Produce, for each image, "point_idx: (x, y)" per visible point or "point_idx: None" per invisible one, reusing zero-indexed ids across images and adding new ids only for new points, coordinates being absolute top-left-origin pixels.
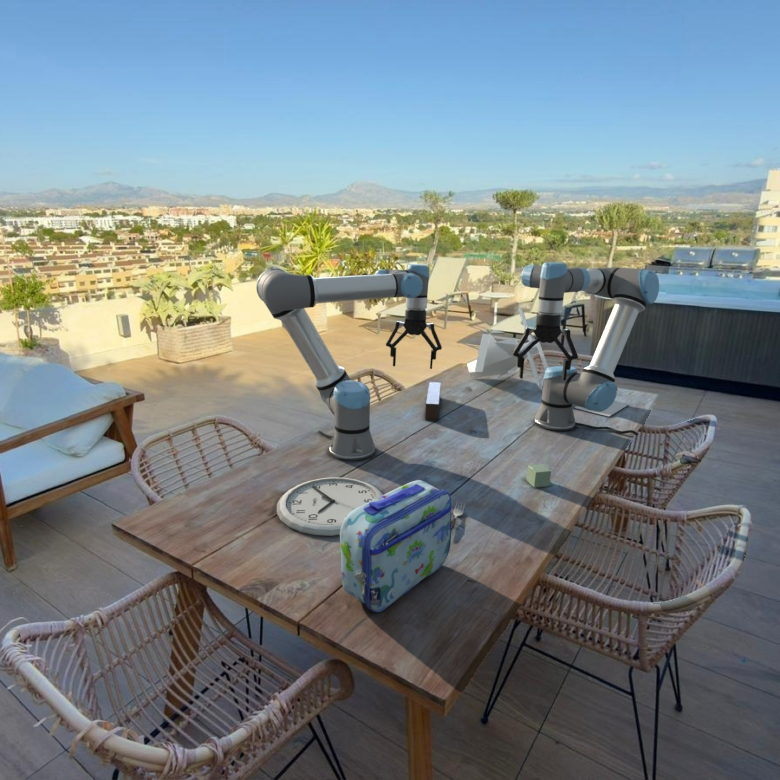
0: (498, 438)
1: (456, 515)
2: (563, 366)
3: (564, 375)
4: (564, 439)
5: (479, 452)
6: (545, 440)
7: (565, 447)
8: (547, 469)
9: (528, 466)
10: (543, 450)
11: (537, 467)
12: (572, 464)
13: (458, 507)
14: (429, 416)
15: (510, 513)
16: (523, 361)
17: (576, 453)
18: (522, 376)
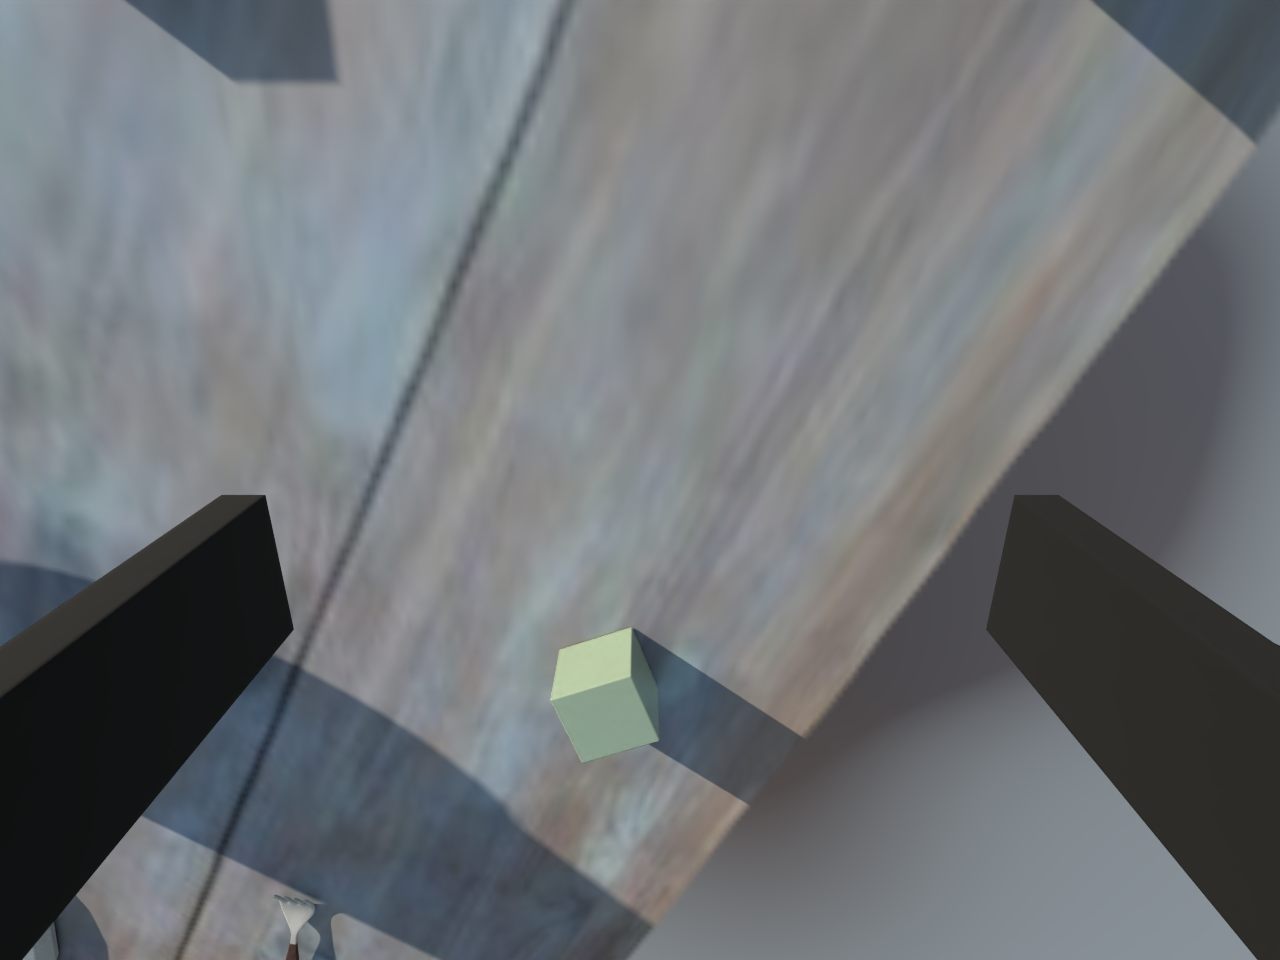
0: (407, 75)
1: (294, 929)
2: (1174, 666)
3: (1043, 683)
4: (920, 2)
5: (302, 361)
6: (763, 55)
7: (876, 180)
8: (644, 730)
9: (553, 703)
10: (710, 261)
11: (596, 717)
12: (837, 446)
13: (290, 902)
14: None
15: (481, 879)
16: (37, 917)
17: (918, 278)
18: (272, 648)
